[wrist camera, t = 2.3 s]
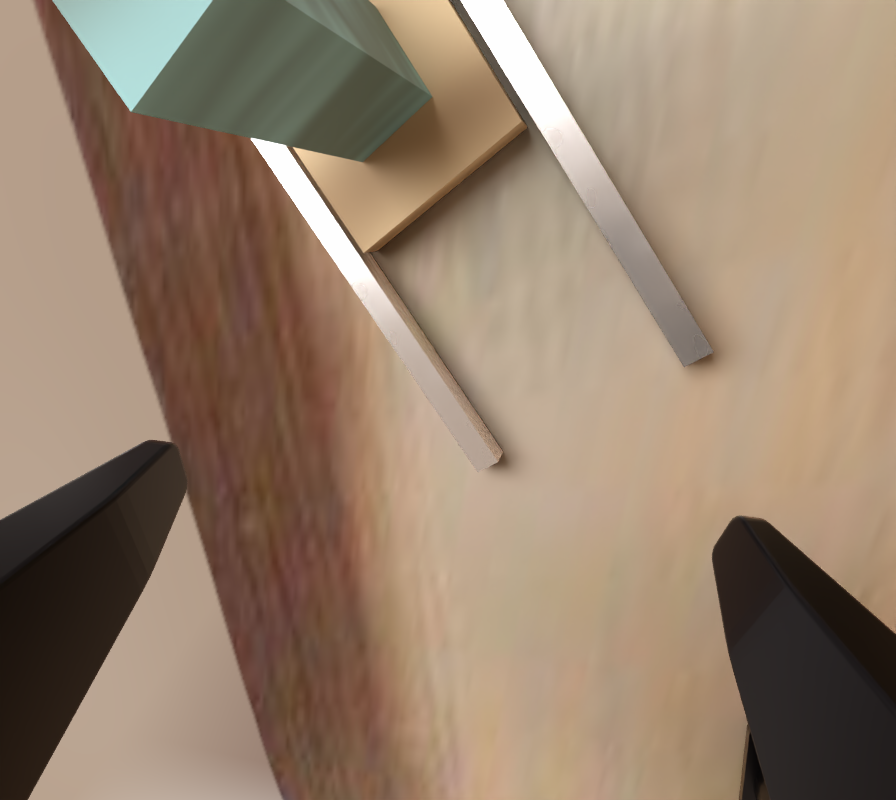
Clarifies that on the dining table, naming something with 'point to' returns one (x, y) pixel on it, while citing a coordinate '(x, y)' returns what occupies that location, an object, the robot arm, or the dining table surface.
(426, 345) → the lane rails
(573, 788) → the dining table surface
